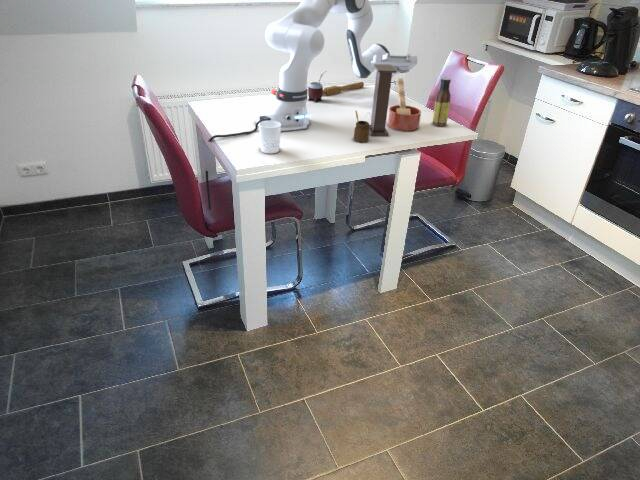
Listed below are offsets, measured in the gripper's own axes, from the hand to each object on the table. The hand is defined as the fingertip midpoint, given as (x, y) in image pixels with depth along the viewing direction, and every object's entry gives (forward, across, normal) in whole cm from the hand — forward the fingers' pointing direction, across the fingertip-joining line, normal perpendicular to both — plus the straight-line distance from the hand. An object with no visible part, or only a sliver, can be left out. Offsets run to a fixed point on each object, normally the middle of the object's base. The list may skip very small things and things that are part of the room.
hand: (398, 55), depth 215 cm
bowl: (+7, 0, +32) cm, 33 cm away
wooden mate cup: (+22, -21, +41) cm, 51 cm away
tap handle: (-37, -20, +7) cm, 43 cm away
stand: (+13, -13, +36) cm, 40 cm away
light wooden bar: (+5, 0, +22) cm, 22 cm away
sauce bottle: (+4, +17, +31) cm, 36 cm away
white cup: (+32, -57, +47) cm, 80 cm away
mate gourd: (-23, -35, +15) cm, 44 cm away
